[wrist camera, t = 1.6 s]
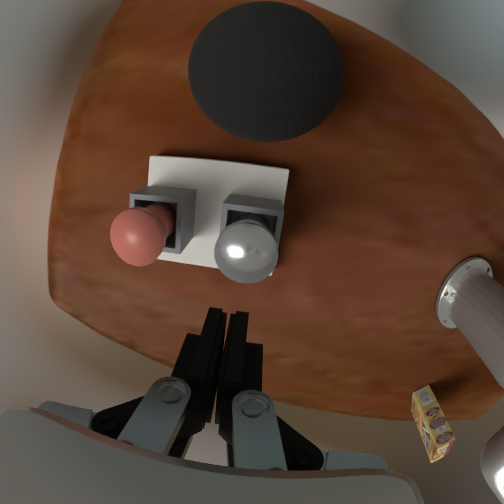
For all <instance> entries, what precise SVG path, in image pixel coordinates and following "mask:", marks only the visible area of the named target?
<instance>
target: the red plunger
mask: <svg viewBox="0 0 504 504" xmlns="http://www.w3.org/2000/svg"><path fill="white" fill-rule="evenodd" d="M176 219H177V214H176V212H175V210H174V208H173V207H172V206H171V205H169V204H168V203H165V202H155V203H152V204H151V205H149V206H147V207H145V208H143V207H132V208H129V209H127V210H125V211H123V212H122V213H120V214H119V215H118V216H117V217H116V218H115V219H114V221H113V223H112V226H111V231H110V237H111V242H112V245H113V248H114V250H115V251H116V253H117V254H118V256H119V257H120V258H121V259H123V260H124V261H125V262H127V263H129V264H131V265H134V266H146V265H149V264H151V263H152V262H154V261H155V260H156V259H157V258H158V256H159V255H160V254H161V253H162V251H163V250H164V247H165V243H166V238H167V237H168V236H169V235H171V234H172V233H173V232H174V230H175V229H176Z"/></svg>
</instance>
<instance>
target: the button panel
mask: <svg viewBox="0 0 504 504" xmlns="http://www.w3.org/2000/svg"><path fill="white" fill-rule="evenodd" d="M288 175H289V169H286V168H280V167H273V166H266V165H259V164H251V163H243V162H235V161H226V160H216V159H205V158H193V157H179V156H161V155H155V156H150V162H149V178H148V187H145V188H143V189H140V190H138V191H135V192H133V193H130V208H132V207H143V208H145V207H147V206H149V205H151V204H152V203H155V202H165V203H168V204H169V205H171V206H172V207H173V208H174V210H175V212H176V214H177V219H176V229H175V230H174V232H173V233H172V234H171V235H169V236H168V237H167V238H166V243H165V247H164V250H163V251H162V253H161V254H160V255H159V256H158V258H157V259H162V260H168V261H174V262H181V263H187V264H193V265H200V266H207V267H213V268H218V266H217V264H216V261H215V257H214V248H215V244H216V241H217V239H218V237H219V235H220V234H221V232H222V231H223V230H224V229H225V228H226V227H227V226H229V225H230V224H232V223H234V221H235V219H236V218H237V217H238V216H240V215H242V214H244V213H249V212H251V213H257V214H259V215H261V216H262V217H264V218H265V220H266V221H267V223H268V225H269V229H270V231H271V232H272V233H273V235H274V237H275V239H276V241H277V246H278V247H279V241H280V235H281V229H282V223H283V217H284V208H283V207H284V200H285V194H286V188H287V182H288ZM269 276H272V273H271V274H270V275H269Z"/></svg>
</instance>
